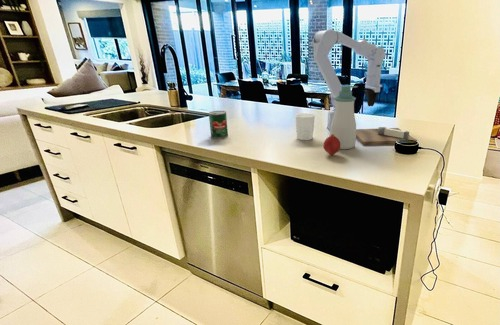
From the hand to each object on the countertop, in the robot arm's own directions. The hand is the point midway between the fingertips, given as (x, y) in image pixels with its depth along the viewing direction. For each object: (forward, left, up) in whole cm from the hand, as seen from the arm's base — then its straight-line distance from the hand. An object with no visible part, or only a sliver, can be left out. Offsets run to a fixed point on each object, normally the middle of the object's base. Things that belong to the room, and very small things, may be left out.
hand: (370, 105), depth 138 cm
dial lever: (+2, -23, -8) cm, 24 cm away
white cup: (-32, -17, -10) cm, 37 cm away
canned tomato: (-70, -10, -10) cm, 71 cm away
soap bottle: (-19, -29, -10) cm, 36 cm away
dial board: (-1, -20, -9) cm, 22 cm away
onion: (-25, -39, -10) cm, 47 cm away
